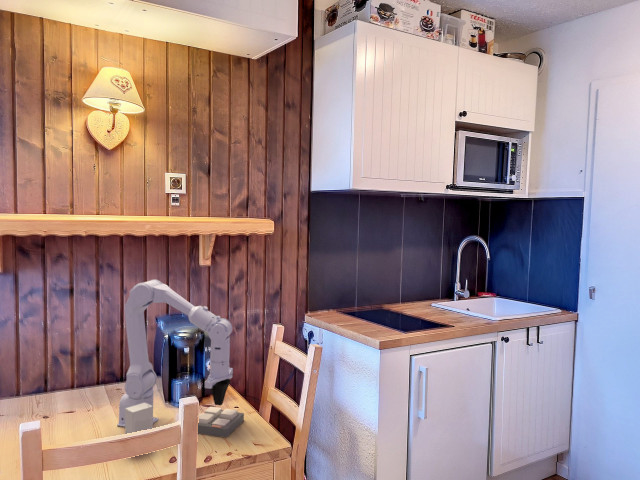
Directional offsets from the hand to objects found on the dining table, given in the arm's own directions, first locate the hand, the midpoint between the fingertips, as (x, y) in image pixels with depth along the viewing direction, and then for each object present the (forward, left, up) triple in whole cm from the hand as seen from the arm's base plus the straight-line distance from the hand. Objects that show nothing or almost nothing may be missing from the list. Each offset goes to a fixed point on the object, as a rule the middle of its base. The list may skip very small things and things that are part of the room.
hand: (218, 404), depth 143 cm
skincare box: (-14, -19, -8) cm, 25 cm away
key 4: (+2, +4, -6) cm, 7 cm away
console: (-1, +1, -7) cm, 7 cm away
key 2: (-4, +4, -6) cm, 8 cm away
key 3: (+2, -2, -6) cm, 7 cm away
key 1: (-4, -2, -5) cm, 7 cm away
